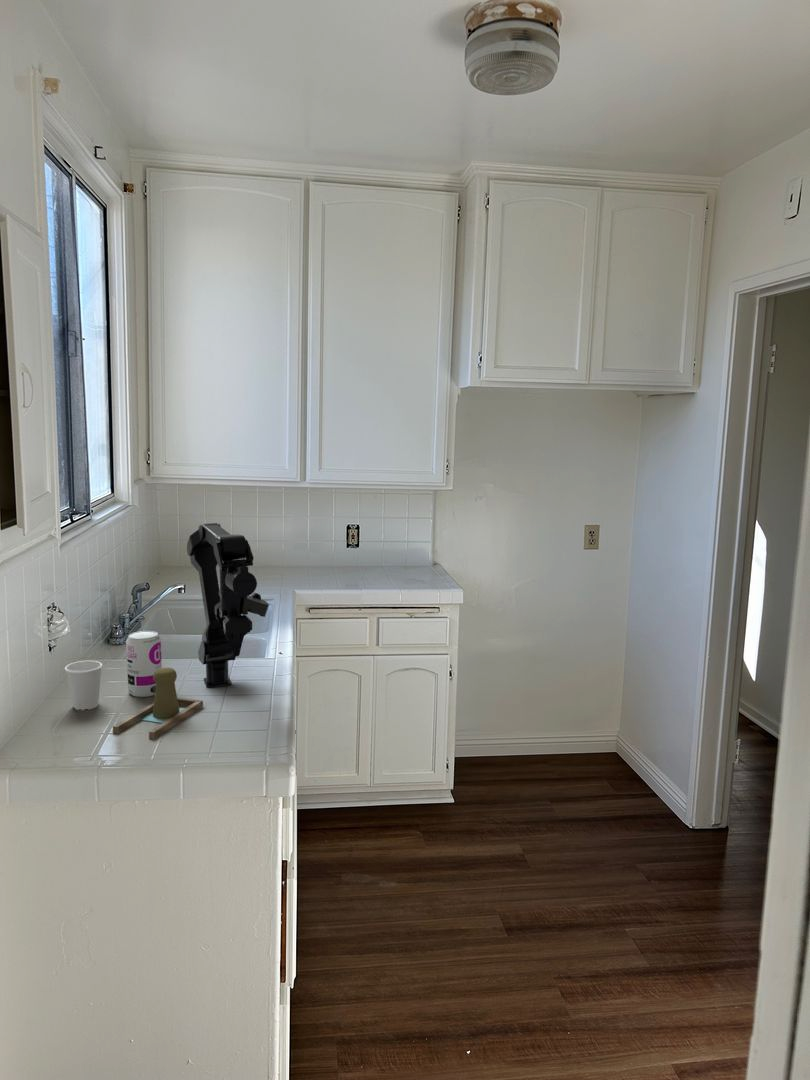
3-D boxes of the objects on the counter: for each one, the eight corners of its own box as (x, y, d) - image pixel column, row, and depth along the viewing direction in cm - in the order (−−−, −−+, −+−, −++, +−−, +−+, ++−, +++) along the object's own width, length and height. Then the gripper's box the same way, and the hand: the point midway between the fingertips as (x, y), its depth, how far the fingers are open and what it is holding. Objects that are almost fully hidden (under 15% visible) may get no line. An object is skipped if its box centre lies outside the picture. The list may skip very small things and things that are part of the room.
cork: (169, 707, 191) (168, 663, 190) (185, 713, 188) (183, 668, 186) (147, 714, 187) (145, 669, 185) (162, 721, 183) (161, 675, 181)
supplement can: (168, 688, 205) (166, 631, 202) (150, 699, 197) (148, 640, 194) (141, 685, 207) (138, 628, 204) (121, 695, 199) (119, 637, 197)
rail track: (165, 701, 196) (165, 695, 196) (203, 706, 193) (202, 700, 193) (113, 732, 177) (112, 726, 177) (153, 738, 174) (153, 732, 174)
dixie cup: (90, 697, 198) (88, 658, 196) (111, 704, 194) (109, 664, 192) (59, 707, 191) (57, 667, 190) (81, 714, 187) (78, 673, 185)
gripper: (273, 593, 186) (274, 658, 188) (258, 577, 203) (259, 637, 205) (224, 597, 182) (226, 663, 184) (213, 580, 199) (215, 641, 202)
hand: (233, 650), depth 194 cm, fingers open, 9 cm apart
